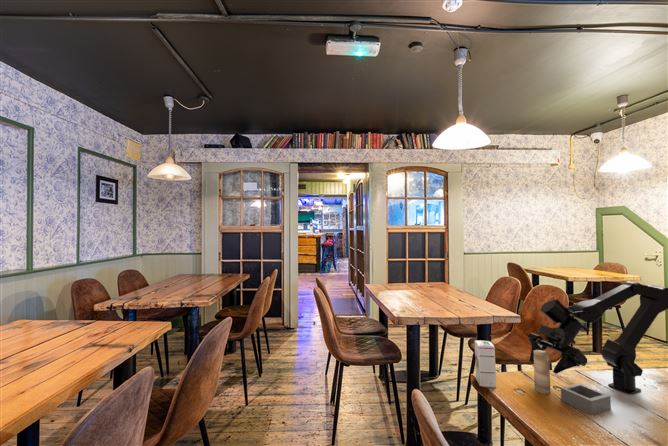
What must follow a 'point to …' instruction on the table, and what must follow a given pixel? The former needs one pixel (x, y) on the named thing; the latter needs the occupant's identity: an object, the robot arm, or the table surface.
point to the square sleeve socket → (586, 398)
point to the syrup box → (485, 363)
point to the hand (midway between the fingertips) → (541, 367)
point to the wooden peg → (542, 371)
